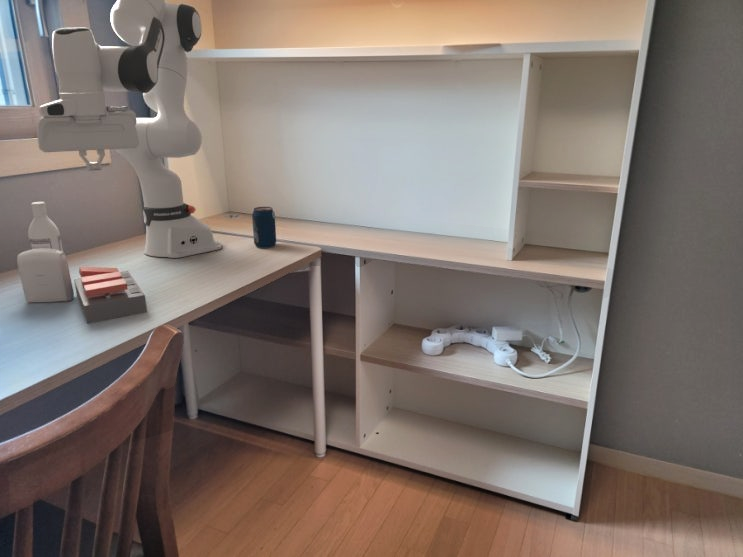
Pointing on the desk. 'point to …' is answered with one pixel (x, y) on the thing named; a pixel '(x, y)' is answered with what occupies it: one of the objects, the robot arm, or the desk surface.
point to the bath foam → (43, 230)
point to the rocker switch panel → (112, 301)
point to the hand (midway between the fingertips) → (94, 170)
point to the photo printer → (45, 275)
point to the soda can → (264, 227)
